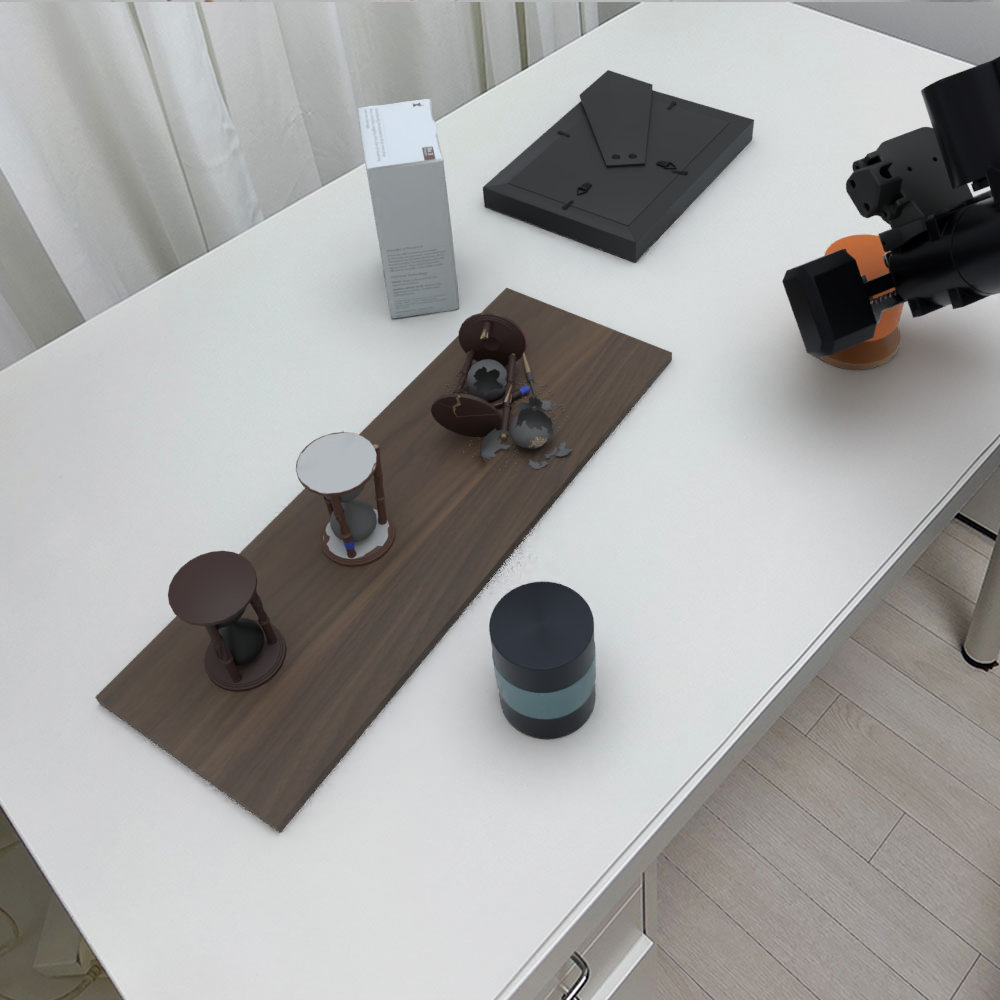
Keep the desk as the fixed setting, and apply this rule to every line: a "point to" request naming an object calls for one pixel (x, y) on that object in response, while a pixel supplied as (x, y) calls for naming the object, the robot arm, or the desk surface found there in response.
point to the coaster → (866, 353)
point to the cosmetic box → (410, 206)
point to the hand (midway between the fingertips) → (849, 287)
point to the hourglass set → (376, 553)
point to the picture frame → (619, 166)
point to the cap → (870, 273)
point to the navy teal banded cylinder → (544, 659)
